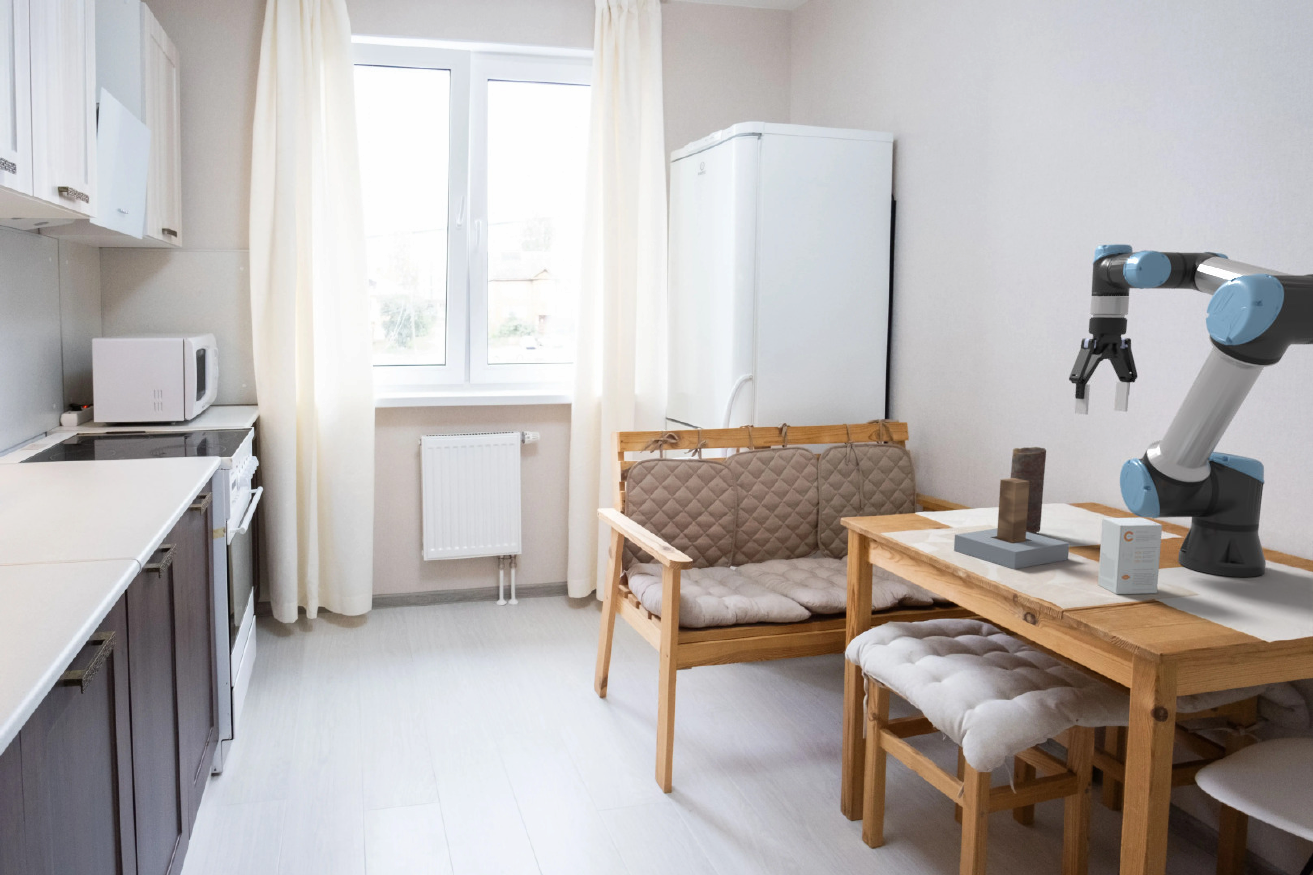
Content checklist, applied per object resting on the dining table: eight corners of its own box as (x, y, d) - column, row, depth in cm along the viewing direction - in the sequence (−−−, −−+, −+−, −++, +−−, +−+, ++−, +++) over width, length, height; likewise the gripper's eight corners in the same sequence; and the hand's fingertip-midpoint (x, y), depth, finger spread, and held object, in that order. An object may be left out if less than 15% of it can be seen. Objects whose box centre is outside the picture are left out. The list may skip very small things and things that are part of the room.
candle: (1045, 537, 214) (1051, 450, 211) (1012, 537, 214) (1018, 450, 211) (1032, 529, 221) (1038, 445, 219) (1001, 529, 222) (1006, 445, 219)
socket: (1068, 559, 196) (1069, 543, 195) (1014, 569, 188) (1015, 552, 187) (1006, 542, 209) (1007, 526, 209) (953, 550, 202) (954, 534, 201)
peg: (1024, 556, 198) (1029, 481, 196) (1011, 558, 196) (1015, 482, 194) (1009, 551, 201) (1013, 478, 199) (995, 553, 200) (1000, 479, 197)
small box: (1136, 583, 179) (1142, 516, 177) (1157, 594, 172) (1163, 524, 171) (1096, 584, 178) (1101, 517, 176) (1115, 595, 172) (1121, 525, 170)
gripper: (1128, 316, 216) (1121, 408, 219) (1055, 316, 204) (1049, 413, 207) (1159, 316, 210) (1151, 411, 213) (1086, 316, 198) (1079, 416, 201)
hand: (1101, 412), depth 210 cm, fingers open, 13 cm apart
